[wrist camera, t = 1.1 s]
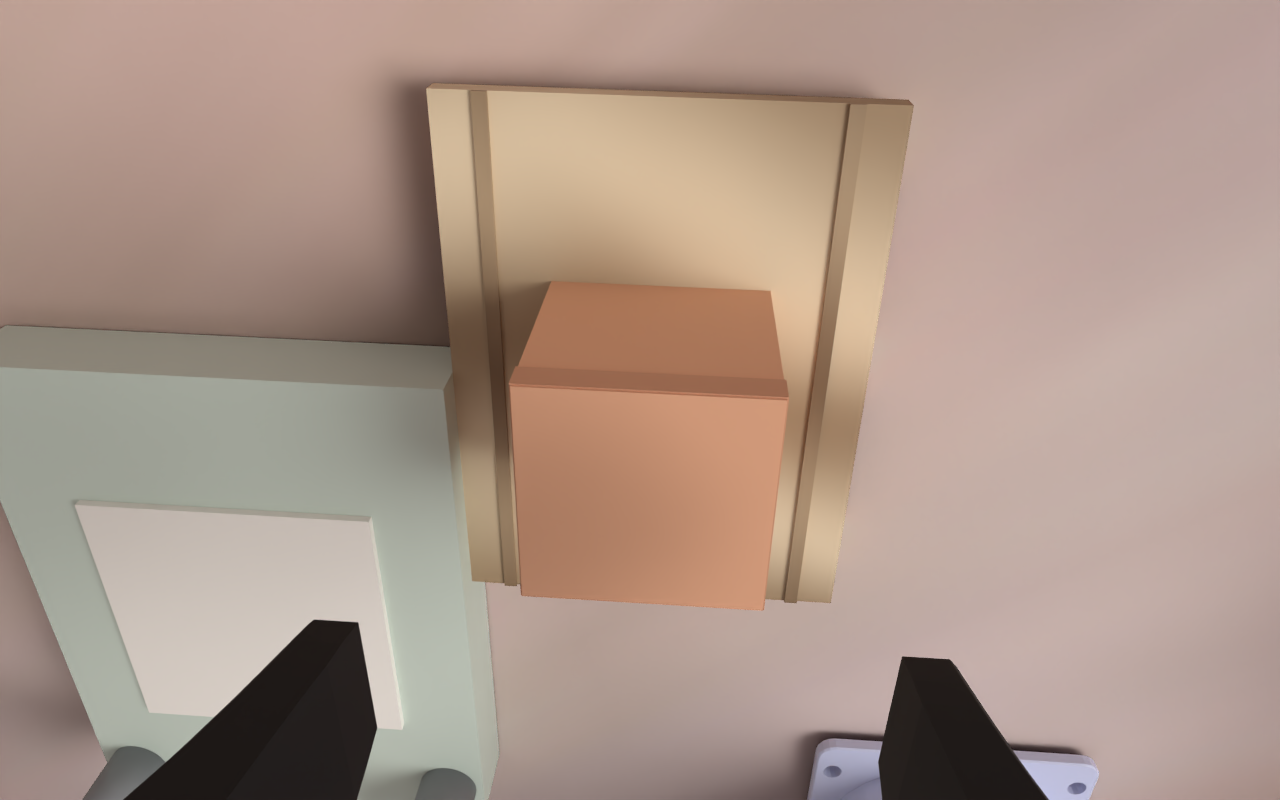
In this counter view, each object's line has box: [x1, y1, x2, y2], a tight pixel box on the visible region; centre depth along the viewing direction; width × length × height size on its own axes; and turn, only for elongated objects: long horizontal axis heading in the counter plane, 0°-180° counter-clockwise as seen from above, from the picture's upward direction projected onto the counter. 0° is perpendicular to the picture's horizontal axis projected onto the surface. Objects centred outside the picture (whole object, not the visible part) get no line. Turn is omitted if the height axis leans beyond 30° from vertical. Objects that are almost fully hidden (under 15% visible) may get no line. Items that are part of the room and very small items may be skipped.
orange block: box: [509, 281, 789, 611], centre depth 18 cm, size 5×5×4 cm
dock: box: [0, 325, 499, 800], centre depth 22 cm, size 14×11×5 cm
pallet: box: [426, 83, 914, 603], centre depth 20 cm, size 12×9×1 cm
